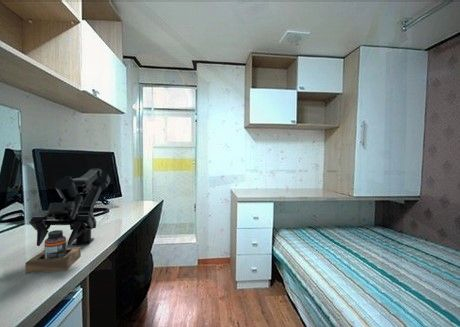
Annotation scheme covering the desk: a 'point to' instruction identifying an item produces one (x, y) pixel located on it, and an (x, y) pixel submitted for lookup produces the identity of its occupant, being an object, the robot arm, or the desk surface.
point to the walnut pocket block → (52, 262)
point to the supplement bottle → (55, 245)
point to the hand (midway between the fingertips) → (53, 245)
